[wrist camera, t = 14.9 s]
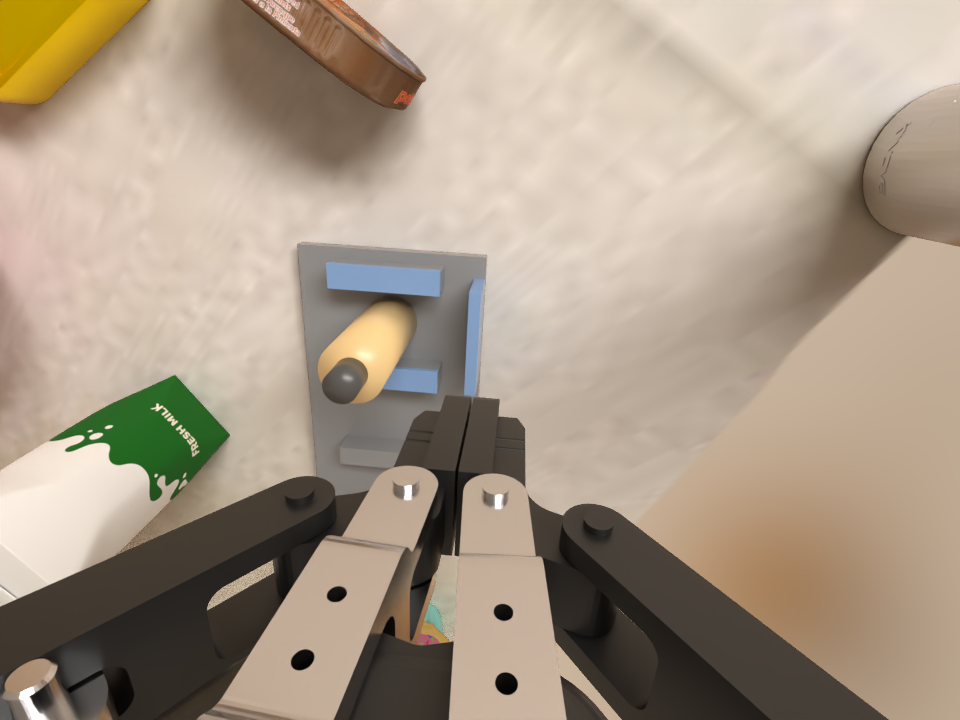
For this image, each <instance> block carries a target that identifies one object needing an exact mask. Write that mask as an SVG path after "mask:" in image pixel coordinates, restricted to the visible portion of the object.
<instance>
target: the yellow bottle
mask: <svg viewBox="0 0 960 720" xmlns="http://www.w3.org/2000/svg"><path fill="white" fill-rule="evenodd" d="M416 329H417V316H416V313H415V311H414V309H413V308H412V307H411V305H410V304H409V303H408V302H406V301H405V300H403V299H401V298H399V297H396V296H383V297H380V298H378V299H376V300H375V301H374V302H373V303H372V304H371V305H370V306H369V307H368V308H367V309H366V310H365V311H364V312H363V313H362V314H361V315H360V316H359V317H358V318H357V319H356V320H355V321H354V322H353V323H351V324H350V325H349V326H348V327H347V328H346V329H345V330H344V331H343V332H342V333H341V334H340V335H339V336H338V337H337V338H336V339H335V340H334V341H333V342H332V343H331V344H330V345H329V346H328V347H327V348H326V349H325V350H324V352H323V353H322V354H321V356H320V358H319V362H318V375H319V379H320V381H321V383H322V390H323V392H324V394H325V396H326V397H327V398H328V399H329V400H330V401H332V402H334V403H337V404H348V403H352V404H359V403H365V402H368V401H370V400H372V399H373V398H375V397H376V396H377V395H378V394H379V393H380V391H381V390H382V388H383V386H384V385H385V383H386V381H387V380H388V378H389V376H390V375H391V373H392V371H393V370H394V368H395V366H396V364H397V363H398V361H399V359H400V358H401V356H402V354H403V353H404V351H405V349H406V347H407V346H408V344H409V342H410V341H411V339H412V337H413V336H414V334H415V332H416Z"/></svg>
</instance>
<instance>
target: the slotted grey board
mask: <svg viewBox="0 0 960 720" xmlns="http://www.w3.org/2000/svg"><path fill="white" fill-rule="evenodd" d="M297 248H298V259H299V271H300V283H301V294H302V306H303V318H304V329H305V341H306V353H307V364H308V376H309V388H310V399H311V411H312V423H313V434H314V446H315V458H316V469H317V477H319V478H323V479H325V480H327V481H329V482H330V483H331V484H332V485H333V486H334V488H335V495H336V496H337V495H345V494H353V493H360V492H364V491H368V490H370V488H371V487H372V485H373V483H374V481H375V480H376V478H377V477H378V476H379V475H380V474H382V473H383V472H385V471H387V470H389V469H391V468H393V467H394V465H395V463H396V460H397V458H398V455H399V453H400V451H401V448H402V446H403V444H404V441H405V440H406V436H407V434H408V432H409V429H410V427H411V424H412V422H413V420H414V418H416V417H417V416H418V415H420V414H421V413H422V412H424V411H425V410H427V411H438V412H440V410H441V407H442V404H443V401H444V398H445V395H455V396H467V397H472V403H473V398H474V397H478V395H479V379H480V363H481V347H482V331H483V315H484V299H485V283H486V266H487V255H478V254H464V253H450V252H436V251H422V250H408V249H394V248H380V247H366V246H352V245H338V244H324V243H310V242H301V243H299V244H297ZM383 296H396V297H399V298H401V299H403V300H405V301H406V302H408V303H409V304H410V305H411V307H412V308H413V309H414V311H415V313H416V316H417V329H416V332H415V334H414V336H413V337H412V339H411V341H410V342H409V344H408V346H407V347H406V349H405V351H404V353H403V354H402V356H401V358H400V359H399V361H398V363H397V364H396V366H395V368H394V370H393V371H392V373H391V375H390V376H389V378H388V380H387V381H386V383H385V385H384V386H383V388H382V390H381V391H380V393H379V394H378V395H377V396H376V397H375V398H373V399H372V400H370V401H368V402H365V403H359V404H352V403H348V404H337V403H334V402H332V401H330V400H329V399H328V398H327V397H326V396H325V394H324V392H323V390H322V383H321V381H320V379H319V375H318V362H319V358H320V356H321V354H322V353H323V352H324V350H325V349H326V348H327V347H328V346H329V345H330V344H331V343H332V342H333V341H334V340H335V339H336V338H337V337H338V336H339V335H340V334H341V333H342V332H343V331H344V330H345V329H346V328H347V327H348V326H349V325H350V324H351V323H353V322H354V321H355V320H356V319H357V318H358V317H359V316H360V315H361V314H362V313H363V312H364V311H365V310H366V309H367V308H368V307H369V306H370V305H371V304H372V303H373V302H374V301H375V300H376V299H378V298H380V297H383ZM455 535H456V534H455Z"/></svg>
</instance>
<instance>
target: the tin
mask: <svg viewBox="0 0 960 720" xmlns="http://www.w3.org/2000/svg"><path fill="white" fill-rule="evenodd" d="M242 1H243V2H244V3H245V4H246V5H248V6H249V7H250V8H251V9H252V10H254V11H255V12H256V13H257V14H259V15H260V16H261V17H262V18H263V19H265V20H266V21H267V22H268V23H270V24H271V25H272V26H273V27H274V28H276V29H277V30H278V31H279V32H280V33H282V34H283V35H284V36H286V37H287V38H288V39H289V40H291V41H292V42H293V43H294V44H295V45H297V46H298V47H299V48H300V49H302V50H303V51H304V52H305V53H307V54H308V55H309V56H310V57H312V58H313V59H314V60H315V61H317V62H318V63H319V64H320V65H322V66H323V67H324V68H325V69H327V70H328V71H329V72H331V73H332V74H333V75H335V76H336V77H337V78H339V79H340V80H341V81H343V82H344V83H346V84H347V85H348V86H350V87H351V88H353V89H354V90H356V91H357V92H359V93H360V94H362V95H364V96H365V97H367V98H368V99H370V100H372V101H374V102H375V103H377V104H379V105H381V106H383V107H387V108H394V109H399V110H404V109H406V108H407V106H408V105H409V103H410V102H411V100H412V98H413V97H414V95H415V93H416V92H417V90H418V88H419V87H420V85H421V84H422V82H425V81H426V77H425V75H424V74H423V73H422V72H421V71H420V69H419V68H418V67H417V66H416V65H415V64H414V63H413V62H412V61H411V60H410V59H409V58H408V57H407V56H406V55H404V54H403V53H402V52H401V51H400V50H399V49H397V48H396V47H395V46H394V45H393V44H392V43H391V42H390V41H389V40H388V39H386V38H385V37H384V36H383V35H382V34H381V33H379V32H378V31H377V30H376V29H375V28H374V27H372V26H371V25H370V24H369V23H368V22H367V21H365V20H364V19H363V18H362V17H361V16H360V15H358V14H357V13H356V12H355V11H354V10H353V9H351V8H350V7H349V6H348V5H347V4H346V3H344V2H343V1H342V0H242Z"/></svg>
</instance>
